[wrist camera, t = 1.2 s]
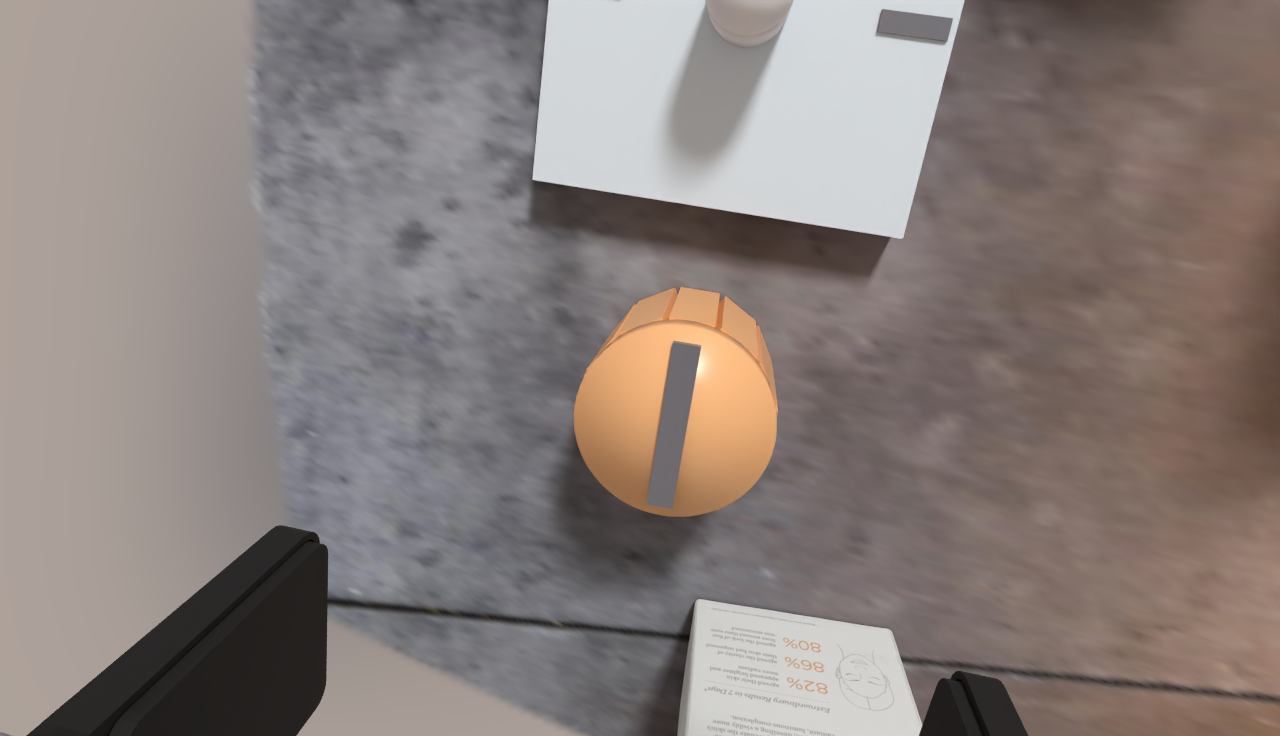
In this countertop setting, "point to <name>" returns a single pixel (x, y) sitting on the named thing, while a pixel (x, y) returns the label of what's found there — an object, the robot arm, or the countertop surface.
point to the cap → (679, 405)
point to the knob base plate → (747, 103)
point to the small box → (791, 677)
